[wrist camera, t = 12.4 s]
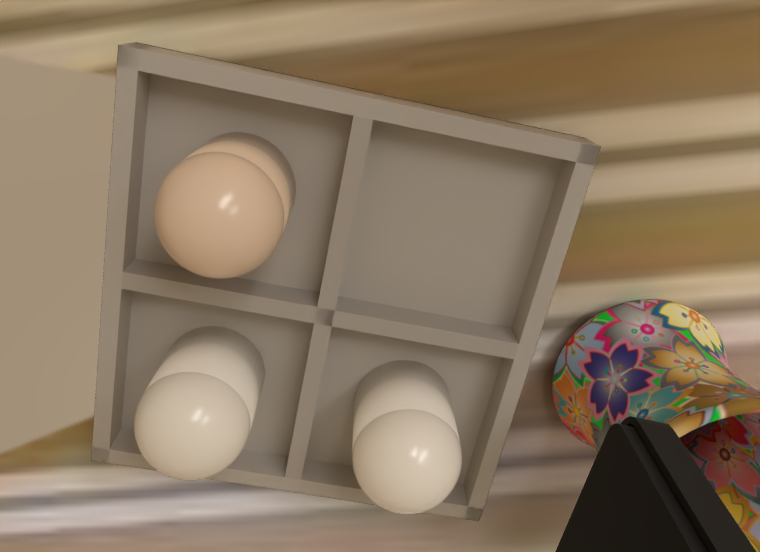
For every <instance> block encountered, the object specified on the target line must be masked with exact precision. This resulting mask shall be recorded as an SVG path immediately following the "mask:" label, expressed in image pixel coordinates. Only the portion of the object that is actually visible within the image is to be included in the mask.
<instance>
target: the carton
mask: <svg viewBox="0 0 760 552" xmlns="http://www.w3.org/2000/svg"><path fill="white" fill-rule="evenodd" d="M230 132H244V133H250V134H253V135H257V136H259V137H262V138H264V139H265V140H267V141H269V142H270V143H272V144H273V145H274V146H276V147H277V148H278V149H279V150H280V151H281V152H282V154H283V155H284V156H285V157H286V159H287V161H288V162H289V164H290V166H291V168H292V171H293V174H294V177H295V183H296V196H295V201H294V205H293V208H292V210H291V213H290V215H289V218H288V220H287V223H286V226H285V228H284V231H283V233H282V236H281V238H280V241H279V243H278V245H277V247H276V248H275V250H274V252H273V253H272V254H271V255H270V257H269V258H268V259H267V260H266V261H265V262H264V263H262V264H261V265H260V266H258V267H257V268H256V269H254V270H252V271H250V272H249V273H246V274H244V275H241V276H237V277H233V278H225V279H216V278H208V277H204V276H200V275H198V274H195V273H193V272H191V271H189V270H187V269H185V268H184V267H182V266H181V265H179V264H178V263H177V262H176V261H175V260H173V258H172V257H171V256H170V255H169V254H168V253H167V252H166V250H165V249H164V247H163V246H162V244H161V242H160V240H159V237H158V235H157V232H156V228H155V223H154V203H155V198H156V195H157V192H158V189H159V187H160V185H161V183H162V181H163V180H164V178H165V177H166V175H167V174H168V173H169V172H170V171H171V170H172V169H173V168H174V167H175V166H176V165H177V164H179V163H180V162H181V161H182V160H184V159H185V158H186V157H187V156H189V155H190V154H191V153H193V152H194V151H195V150H196V149H198V148H199V147H200V146H201V145H203V144H204V143H205V142H206V141H208V140H210V139H211V138H213V137H216V136H218V135H221V134H225V133H230ZM600 148H601V147H600V146H598V145H597V144H595V143H593V142H591V141H589V140H588V139H586V138H583V137H578V136H574V135H569V134H564V133H560V132H555V131H550V130H546V129H541V128H536V127H531V126H527V125H522V124H517V123H513V122H508V121H503V120H498V119H494V118H489V117H484V116H480V115H475V114H470V113H466V112H461V111H456V110H451V109H447V108H442V107H437V106H433V105H428V104H423V103H419V102H414V101H409V100H404V99H400V98H395V97H390V96H386V95H381V94H376V93H371V92H367V91H362V90H357V89H353V88H348V87H343V86H339V85H334V84H329V83H324V82H320V81H315V80H310V79H306V78H301V77H296V76H292V75H287V74H282V73H277V72H273V71H268V70H263V69H259V68H254V67H249V66H244V65H240V64H235V63H230V62H226V61H221V60H216V59H212V58H207V57H202V56H197V55H193V54H188V53H183V52H179V51H174V50H169V49H165V48H160V47H155V46H150V45H146V44H141V43H129V44H121V45H118V58H117V73H116V89H115V104H114V120H113V135H112V150H111V166H110V181H109V196H108V212H107V228H106V243H105V258H104V259H105V260H104V273H103V289H102V304H101V319H100V334H99V350H98V365H97V381H96V397H95V411H94V426H93V442H92V457H91V461H98V462H104V463H111V464H117V465H123V466H130V467H136V468H143V469H149V470H155V471H157V470H156V469H155V468H153V467H152V466H151V465H150V464H149V463H148V462H147V461H146V459H145V458H144V456H143V455H142V453H141V452H140V450H139V448H138V445H137V442H136V438H135V433H134V419H135V413H136V409H137V406H138V403H139V401H140V399H141V397H142V395H143V394H144V392H145V390H146V389H147V387H148V385H149V383H150V382H151V380H152V378H153V377H154V375H155V373H156V372H157V370H158V368H159V367H160V365H161V363H162V362H163V360H164V358H165V356H166V355H167V353H168V351H169V350H170V348H171V346H172V345H173V344H174V342H175V341H176V340H177V339H178V338H179V337H180V336H182V335H183V334H184V333H186V332H188V331H190V330H193V329H195V328H199V327H205V326H219V327H224V328H229V329H231V330H234V331H236V332H238V333H240V334H242V335H243V336H245V337H246V338H247V339H249V340H250V341H251V342H252V343H253V344H254V345H255V346H256V348H257V349H258V351H259V352H260V354H261V356H262V359H263V362H264V366H265V380H264V384H263V388H262V391H261V395H260V398H259V402H258V405H257V409H256V412H255V416H254V419H253V423H252V427H251V430H250V434H249V437H248V439H247V442H246V444H245V447H244V448H243V450H242V452H241V453H240V454H239V456H238V457H237V458H236V459H235V461H233V462H232V463H231V464H230V465H229V466H228V467H227V468H225V469H224V470H222V471H221V472H219V473H217V474H215V475H213V476H210V477H207V478H206V479H213V480H219V481H225V482H232V483H238V484H245V485H251V486H257V487H264V488H270V489H277V490H283V491H289V492H296V493H302V494H308V495H315V496H321V497H328V498H334V499H340V500H347V501H353V502H359V503H366V504H372V505H377V504H375V503H374V502H373V501H372V500H371V499H370V498H369V497H368V496H367V495H366V494H365V493H364V492H363V490H362V489H361V487H360V485H359V483H358V481H357V479H356V476H355V473H354V469H353V463H352V446H353V417H354V397H355V392H356V389H357V387H358V385H359V383H360V382H361V380H362V379H363V378H364V376H365V375H366V374H367V373H369V372H370V371H371V370H372V369H374V368H375V367H377V366H379V365H381V364H384V363H386V362H390V361H395V360H411V361H416V362H420V363H422V364H425V365H427V366H429V367H431V368H432V369H434V370H435V371H436V372H437V373H438V374H439V375H440V376H441V377H442V378H443V380H444V381H445V383H446V385H447V387H448V390H449V394H450V398H451V403H452V408H453V412H454V417H455V422H456V426H457V431H458V435H459V440H460V445H461V451H462V466H461V471H460V475H459V478H458V480H457V483H456V485H455V487H454V488H453V490H452V491H451V493H450V494H449V495H448V497H447V498H446V499H445V500H443V501H442V502H441V503H440V504H438V505H437V506H435V507H434V508H432V509H430V510H428V511H425V512H423V513H430V514H436V515H442V516H449V517H455V518H462V519H468V520H474V521H479V520H480V517H481V514H482V511H483V508H484V505H485V502H486V499H487V496H488V493H489V490H490V487H491V484H492V480H493V477H494V474H495V471H496V468H497V465H498V462H499V459H500V456H501V453H502V450H503V447H504V444H505V440H506V437H507V434H508V431H509V428H510V425H511V422H512V419H513V416H514V413H515V410H516V407H517V404H518V400H519V397H520V394H521V391H522V388H523V385H524V382H525V379H526V376H527V373H528V370H529V367H530V364H531V360H532V357H533V354H534V351H535V348H536V345H537V342H538V339H539V336H540V333H541V330H542V327H543V323H544V320H545V317H546V314H547V311H548V308H549V305H550V302H551V299H552V296H553V293H554V290H555V287H556V283H557V280H558V277H559V274H560V271H561V268H562V265H563V262H564V259H565V256H566V253H567V250H568V247H569V243H570V240H571V237H572V234H573V231H574V228H575V225H576V222H577V219H578V216H579V213H580V210H581V207H582V203H583V200H584V197H585V194H586V191H587V188H588V185H589V182H590V179H591V176H592V173H593V170H594V167H595V163H596V160H597V157H598V154H599V151H600Z"/></svg>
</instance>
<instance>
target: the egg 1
mask: <svg viewBox="0 0 760 552" xmlns="http://www.w3.org/2000/svg"><path fill="white" fill-rule="evenodd" d="M295 196H296V183H295V177H294V174H293V171H292V168H291V166H290V164H289V162H288V161H287V159H286V157H285V156H284V155H283V154H282V152H281V151H280V150H279V149H278V148H277V147H276V146H274V145H273V144H272V143H270V142H269V141H267V140H265V139H264V138H262V137H259V136H257V135H253V134H250V133H244V132H230V133H225V134H221V135H218V136H216V137H213V138H211V139H210V140H208V141H206V142H205V143H204V144H203V145H201V146H200V147H199V148H198V149H196V150H195V151H194V152H193V153H191V154H190V155H189V156H187V157H186V158H185V159H184V160H182V161H181V162H180V163H179V164H177V165H176V166H175V167H174V168H173V169H172V170H171V171H170V172H169V173H168V174H167V175H166V177H165V178H164V180H163V181H162V183H161V185H160V187H159V189H158V192H157V195H156V198H155V203H154V223H155V228H156V232H157V235H158V237H159V240H160V242H161V244H162V246H163V247H164V249H165V250H166V252H167V253H168V254H169V255H170V256H171V257H172V258H173V260H175V261H176V262H177V263H178V264H179V265H181V266H182V267H184V268H185V269H187V270H189V271H191V272H193V273H195V274H198V275H200V276H204V277H208V278H216V279H225V278H233V277H237V276H241V275H244V274H246V273H249V272H250V271H252V270H254V269H256V268H257V267H258V266H260V265H261V264H262V263H264V262H265V261H266V260H267V259H268V258H269V257H270V255H271V254H272V253H273V252H274V250H275V248H276V247H277V245H278V243H279V241H280V238H281V236H282V233H283V231H284V228H285V226H286V223H287V220H288V218H289V215H290V213H291V210H292V208H293V205H294V201H295Z"/></svg>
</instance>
